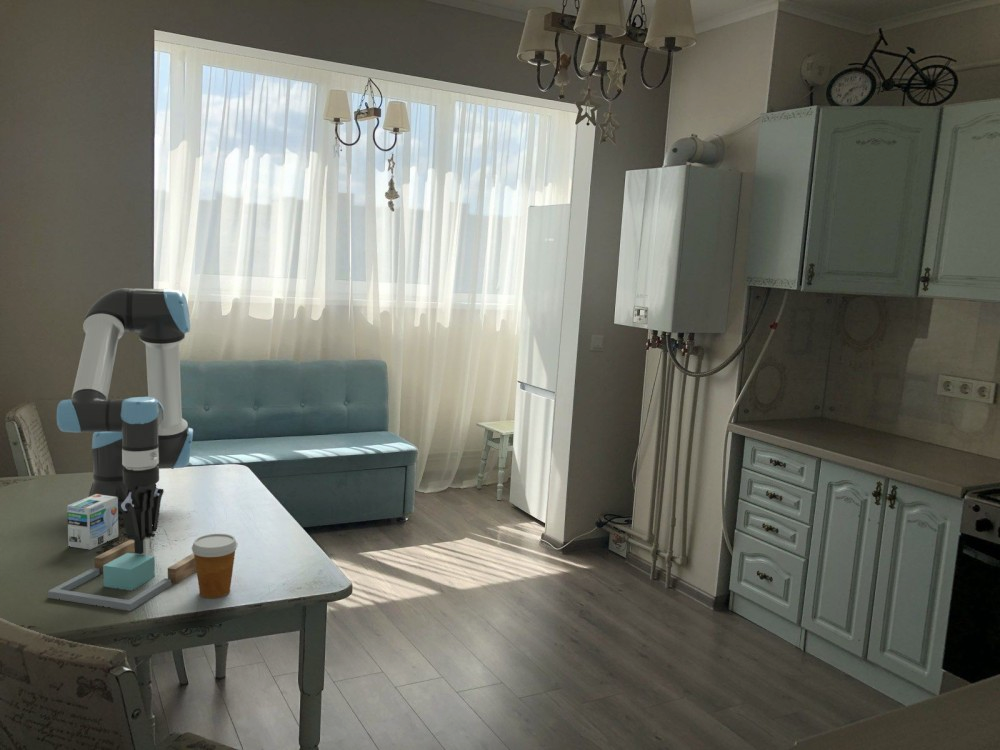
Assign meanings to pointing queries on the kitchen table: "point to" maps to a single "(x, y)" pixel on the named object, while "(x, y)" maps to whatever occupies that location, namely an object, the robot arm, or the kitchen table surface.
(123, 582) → the teal block
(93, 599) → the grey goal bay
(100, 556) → the wooden guide rails
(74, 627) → the kitchen table surface
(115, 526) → the light bulb box
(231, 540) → the disposable coffee cup
